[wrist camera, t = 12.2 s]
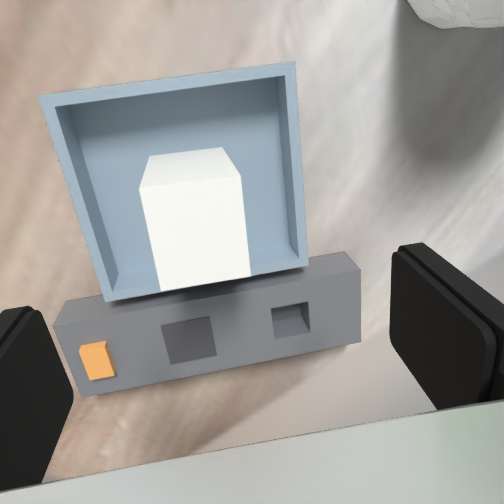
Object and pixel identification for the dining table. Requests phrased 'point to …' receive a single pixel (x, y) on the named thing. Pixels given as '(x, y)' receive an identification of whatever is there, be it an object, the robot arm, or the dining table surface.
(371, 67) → the dining table surface
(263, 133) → the tray
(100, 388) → the strip
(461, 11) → the white cup
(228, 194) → the block
